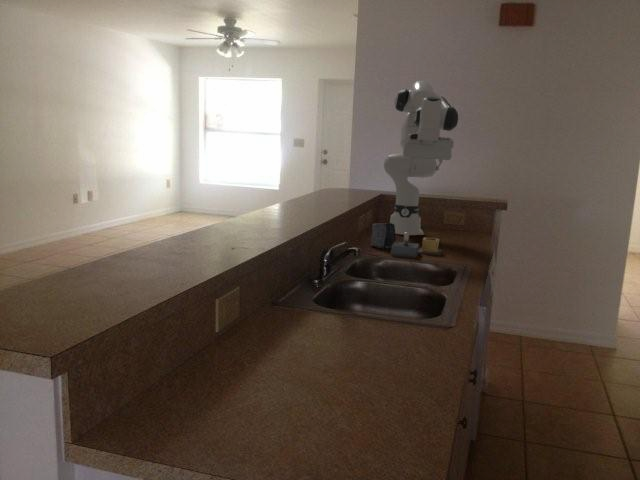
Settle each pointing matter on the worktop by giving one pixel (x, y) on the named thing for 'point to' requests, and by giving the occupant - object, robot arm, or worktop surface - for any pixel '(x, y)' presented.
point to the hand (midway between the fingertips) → (425, 169)
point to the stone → (383, 235)
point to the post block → (405, 248)
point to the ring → (430, 245)
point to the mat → (430, 252)
